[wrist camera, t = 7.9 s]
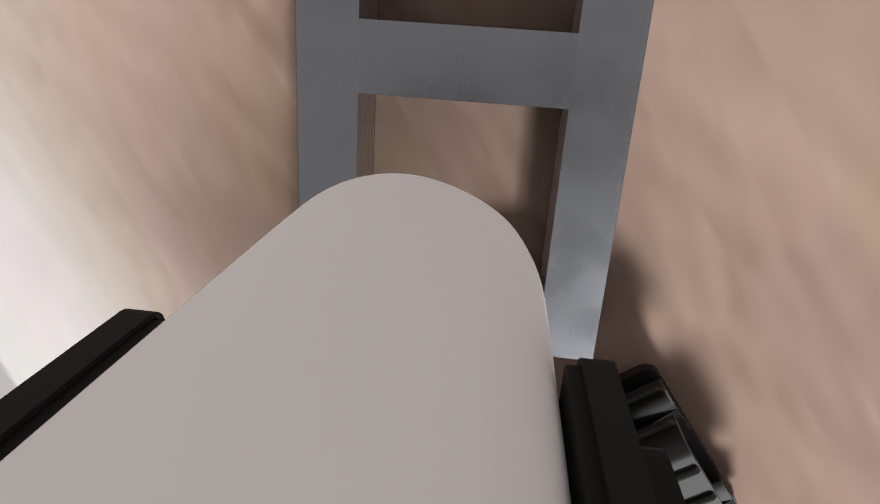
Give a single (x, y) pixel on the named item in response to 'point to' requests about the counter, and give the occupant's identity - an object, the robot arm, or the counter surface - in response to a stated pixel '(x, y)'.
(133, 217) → the counter surface
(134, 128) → the counter surface
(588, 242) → the grey windowed frame
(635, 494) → the robot arm
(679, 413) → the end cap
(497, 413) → the can
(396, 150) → the counter surface
